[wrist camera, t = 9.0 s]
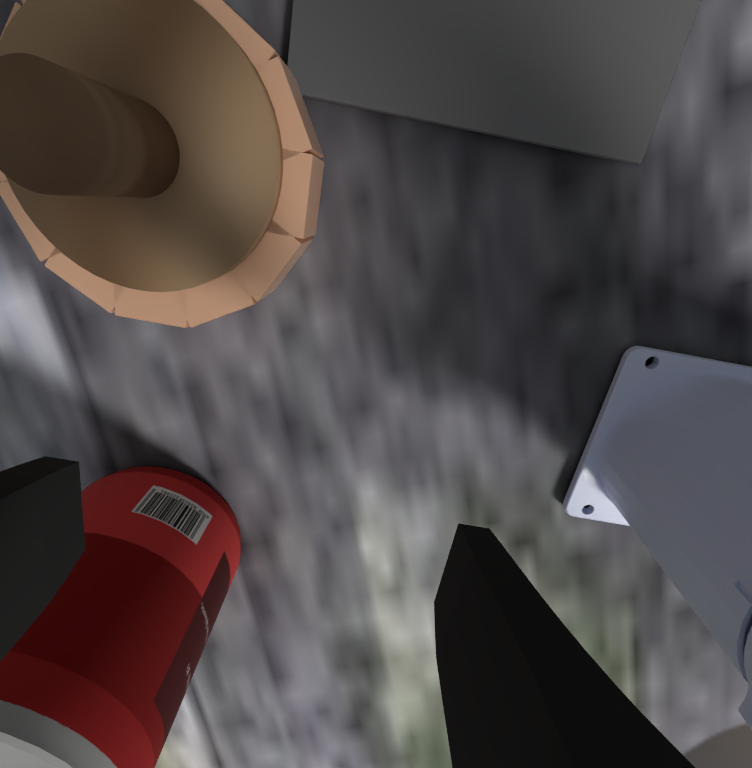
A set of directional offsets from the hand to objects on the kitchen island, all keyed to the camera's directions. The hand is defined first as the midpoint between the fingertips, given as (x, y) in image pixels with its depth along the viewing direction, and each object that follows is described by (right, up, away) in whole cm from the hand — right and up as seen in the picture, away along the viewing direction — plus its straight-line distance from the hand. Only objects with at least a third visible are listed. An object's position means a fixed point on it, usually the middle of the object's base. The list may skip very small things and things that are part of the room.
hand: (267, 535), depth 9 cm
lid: (-4, +10, +4) cm, 11 cm away
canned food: (-8, -4, +13) cm, 16 cm away
